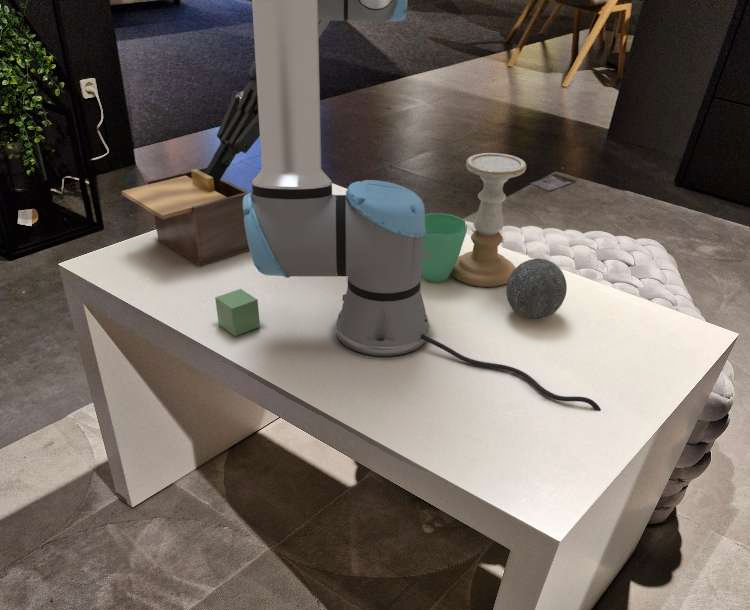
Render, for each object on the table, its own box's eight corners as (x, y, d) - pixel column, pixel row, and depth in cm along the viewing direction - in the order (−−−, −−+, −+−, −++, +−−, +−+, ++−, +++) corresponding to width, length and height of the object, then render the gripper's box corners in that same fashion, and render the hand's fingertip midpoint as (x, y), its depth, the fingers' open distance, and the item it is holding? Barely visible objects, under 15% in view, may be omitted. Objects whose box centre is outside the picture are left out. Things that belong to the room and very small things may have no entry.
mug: (472, 278, 139) (478, 225, 132) (435, 293, 134) (440, 239, 127) (418, 252, 147) (421, 201, 140) (381, 266, 142) (383, 214, 135)
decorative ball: (561, 333, 124) (572, 277, 117) (501, 327, 125) (509, 271, 118) (559, 305, 131) (571, 251, 125) (503, 300, 132) (511, 246, 126)
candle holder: (527, 281, 138) (546, 169, 125) (468, 291, 135) (481, 177, 121) (495, 255, 146) (509, 147, 133) (439, 264, 143) (448, 154, 129)
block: (260, 326, 123) (257, 299, 120) (235, 336, 121) (231, 308, 118) (243, 315, 126) (240, 288, 123) (218, 324, 124) (214, 297, 120)
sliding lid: (228, 201, 138) (226, 184, 136) (162, 219, 131) (159, 201, 129) (186, 179, 146) (183, 162, 144) (122, 195, 139) (118, 177, 137)
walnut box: (263, 248, 147) (258, 190, 139) (202, 267, 140) (193, 207, 132) (215, 221, 156) (208, 165, 149) (156, 237, 149) (145, 180, 142)
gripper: (309, 88, 138) (242, 199, 141) (269, 74, 145) (206, 180, 148) (284, 60, 132) (215, 176, 135) (243, 47, 139) (179, 157, 142)
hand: (210, 178), depth 141 cm, fingers closed
